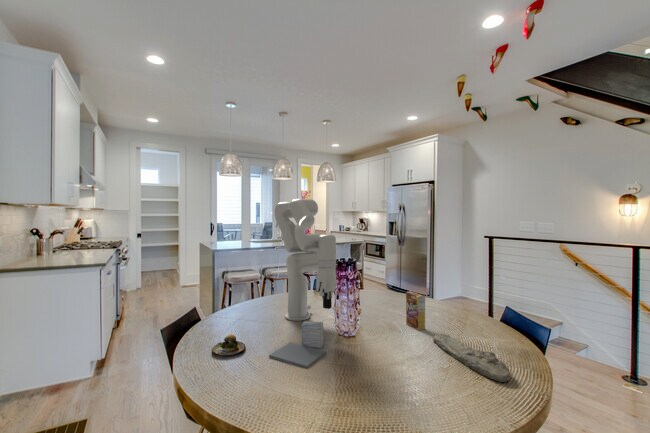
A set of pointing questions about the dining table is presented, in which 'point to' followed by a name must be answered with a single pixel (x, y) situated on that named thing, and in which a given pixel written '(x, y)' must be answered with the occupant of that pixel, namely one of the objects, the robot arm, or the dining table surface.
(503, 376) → the long grey stone
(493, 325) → the dining table surface
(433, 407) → the dining table surface
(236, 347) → the burger
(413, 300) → the candy box
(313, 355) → the mat
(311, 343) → the medicine box
